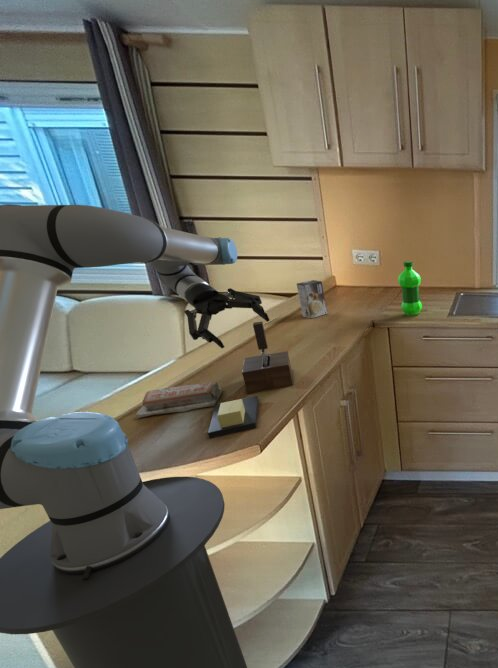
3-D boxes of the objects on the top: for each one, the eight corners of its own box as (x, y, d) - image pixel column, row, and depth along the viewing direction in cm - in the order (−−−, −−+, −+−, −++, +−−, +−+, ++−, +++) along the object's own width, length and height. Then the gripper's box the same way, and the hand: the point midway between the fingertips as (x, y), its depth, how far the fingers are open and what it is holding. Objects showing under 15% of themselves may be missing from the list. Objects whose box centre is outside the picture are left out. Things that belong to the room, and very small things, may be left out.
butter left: (232, 425, 101) (228, 413, 100) (220, 428, 100) (217, 415, 99) (234, 412, 107) (231, 400, 106) (223, 414, 106) (220, 402, 104)
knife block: (292, 385, 125) (288, 364, 122) (247, 393, 120) (241, 372, 117) (291, 370, 135) (287, 351, 132) (249, 377, 130) (244, 357, 127)
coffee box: (319, 311, 198) (314, 279, 193) (327, 314, 195) (322, 281, 189) (302, 316, 191) (296, 283, 185) (310, 318, 188) (304, 284, 182)
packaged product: (219, 376, 119) (211, 391, 111) (223, 391, 121) (215, 407, 113) (144, 386, 113) (129, 403, 105) (150, 402, 115) (135, 419, 106)
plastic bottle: (397, 316, 192) (392, 263, 183) (407, 310, 201) (403, 259, 192) (417, 317, 190) (413, 264, 181) (426, 311, 199) (422, 260, 190)
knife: (275, 385, 125) (261, 326, 118) (266, 387, 124) (252, 327, 117) (275, 375, 131) (262, 318, 124) (266, 377, 130) (253, 319, 123)
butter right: (243, 423, 102) (240, 410, 101) (232, 425, 101) (228, 413, 100) (245, 410, 108) (242, 398, 107) (234, 412, 107) (231, 400, 106)
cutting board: (256, 427, 103) (255, 422, 102) (209, 438, 99) (207, 432, 98) (258, 400, 116) (257, 395, 116) (217, 408, 112) (215, 403, 111)
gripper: (243, 283, 129) (287, 316, 123) (160, 325, 114) (206, 365, 109) (235, 264, 124) (281, 298, 118) (146, 306, 109) (194, 348, 103)
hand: (245, 330), depth 113 cm, fingers open, 13 cm apart
